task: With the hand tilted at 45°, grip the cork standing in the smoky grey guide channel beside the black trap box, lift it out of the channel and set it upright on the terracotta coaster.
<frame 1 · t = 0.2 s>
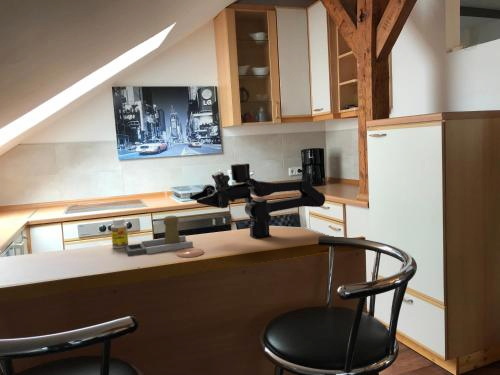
hand: (193, 199, 147), 17 cm above the counter, tool horizontal, fingers open, 9 cm apart
supplement bottle: (120, 247, 152), on the counter
trap box: (135, 251, 144), on the counter
coaster: (190, 253, 139), on the counter
guide channel: (167, 246, 149), on the counter
cork: (172, 246, 149), on the counter
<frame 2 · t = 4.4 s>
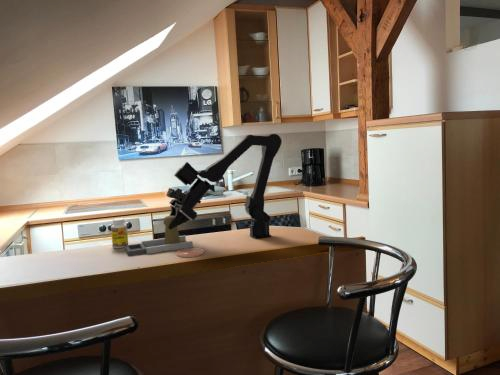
hand: (167, 227, 148), 7 cm above the counter, tool tilted 45°, fingers closed on cork, 5 cm apart
cork: (172, 246, 149), on the counter, touching gripper
everything else where it was.
when the fingers open (8 cm above the counter, at t = 8.7 s): cork stays where it is, resting on coaster.
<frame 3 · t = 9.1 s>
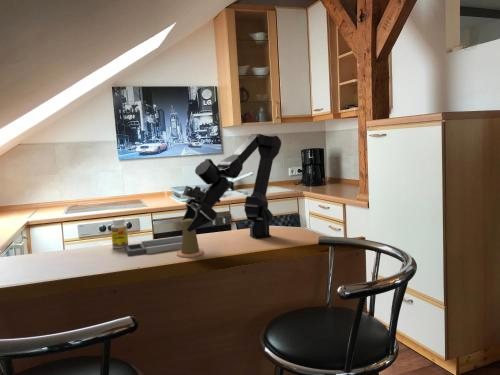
hand: (184, 228, 137), 9 cm above the counter, tool tilted 45°, fingers open, 9 cm apart
cork: (190, 252, 139), resting on coaster
everything else where it was.
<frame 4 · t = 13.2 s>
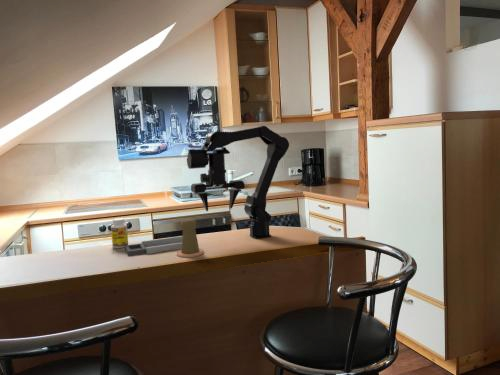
hand: (219, 209, 151), 12 cm above the counter, tool pointing down, fingers open, 9 cm apart
nothing on the counter moved.
at the end: cork 0.1 cm off-centre on the coaster, point 0.4 cm above the coaster's base; cork tilted 0°; the gripper is holding nothing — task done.
